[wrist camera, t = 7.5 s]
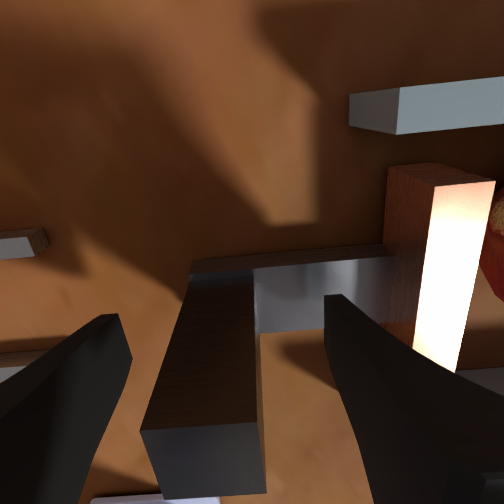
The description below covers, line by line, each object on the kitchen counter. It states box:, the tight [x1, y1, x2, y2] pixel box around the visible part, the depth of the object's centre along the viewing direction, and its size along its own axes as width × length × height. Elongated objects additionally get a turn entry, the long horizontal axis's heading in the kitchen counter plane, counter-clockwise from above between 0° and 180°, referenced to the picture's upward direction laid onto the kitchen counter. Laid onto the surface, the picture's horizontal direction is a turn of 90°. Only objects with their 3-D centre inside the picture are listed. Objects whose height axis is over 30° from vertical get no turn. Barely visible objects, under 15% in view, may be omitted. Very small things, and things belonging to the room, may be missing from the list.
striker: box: [140, 162, 496, 500], centre depth 10 cm, size 9×9×7 cm
